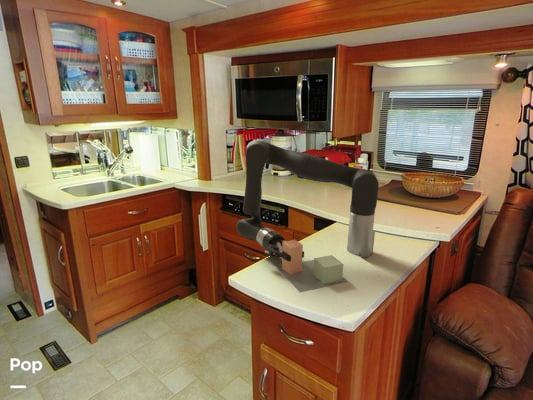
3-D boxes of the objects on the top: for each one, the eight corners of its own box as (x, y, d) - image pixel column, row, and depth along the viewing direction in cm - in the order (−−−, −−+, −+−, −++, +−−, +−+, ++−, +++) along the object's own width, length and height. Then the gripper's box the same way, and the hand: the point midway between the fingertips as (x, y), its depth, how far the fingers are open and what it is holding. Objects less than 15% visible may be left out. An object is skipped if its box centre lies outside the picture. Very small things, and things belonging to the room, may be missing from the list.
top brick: (293, 265, 124) (294, 239, 121) (301, 270, 120) (302, 244, 117) (281, 268, 121) (282, 242, 118) (290, 274, 117) (290, 247, 114)
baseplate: (320, 261, 129) (320, 258, 129) (348, 284, 113) (348, 281, 113) (276, 269, 123) (276, 266, 123) (299, 294, 107) (299, 292, 107)
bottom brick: (330, 270, 120) (331, 255, 118) (342, 280, 114) (343, 263, 112) (313, 274, 118) (314, 258, 116) (323, 284, 111) (324, 267, 110)
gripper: (253, 234, 126) (279, 251, 112) (285, 227, 133) (313, 242, 119) (253, 253, 128) (279, 272, 114) (285, 245, 135) (312, 262, 121)
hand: (296, 257), depth 117 cm, fingers closed on top brick, 5 cm apart
